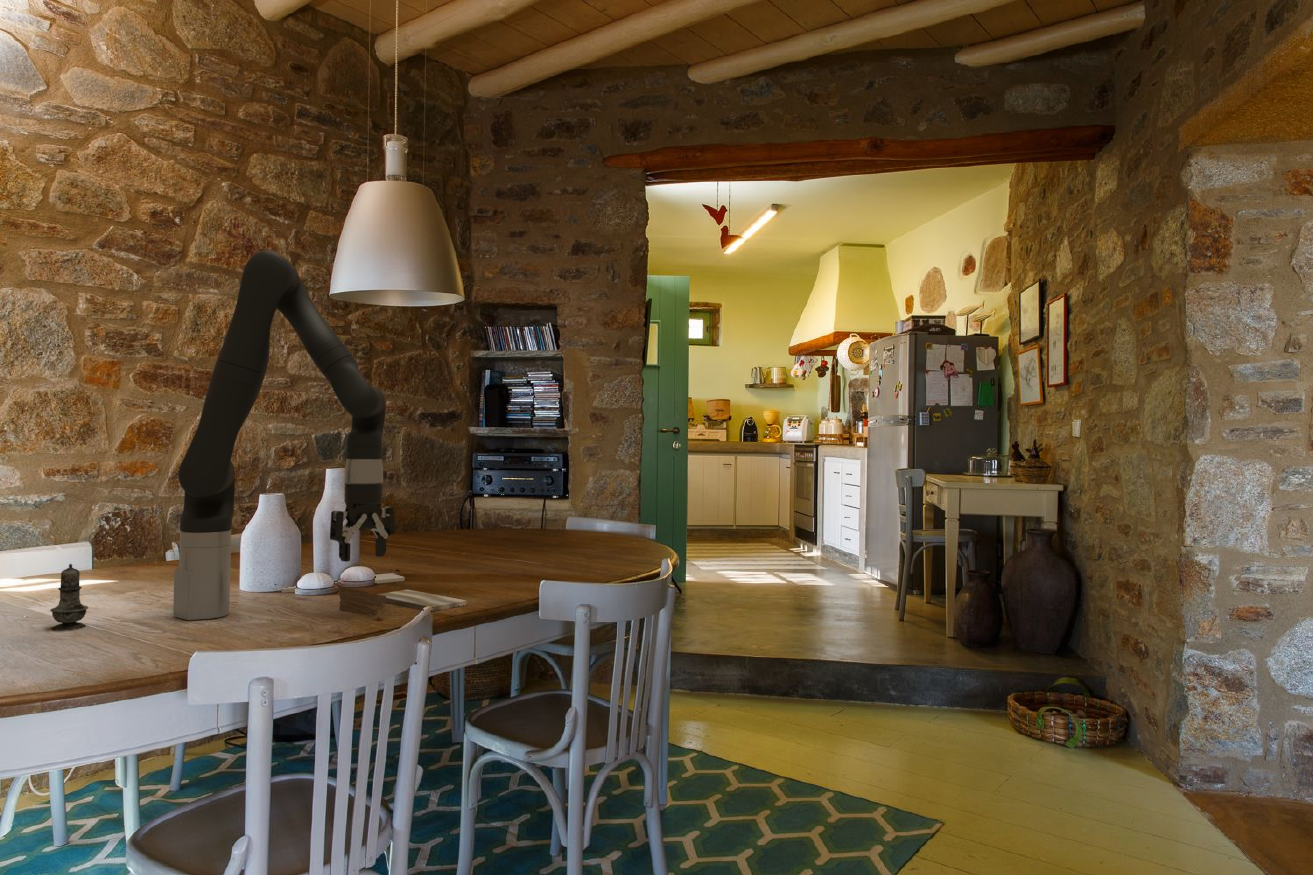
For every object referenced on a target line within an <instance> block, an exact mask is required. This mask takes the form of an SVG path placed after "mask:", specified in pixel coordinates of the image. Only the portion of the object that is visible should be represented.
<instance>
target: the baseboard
mask: <svg viewBox="0 0 1313 875" xmlns="http://www.w3.org/2000/svg"><path fill="white" fill-rule="evenodd" d="M392 571H394V572H397V573H399V574H400V573H401V574H402V575H404V576H402V575H399V574H396V573H394V572H392V573H391V571H388V573H381V574H380V573H379V574H374V575H375V576H376V578H375V583H377V584H383V583H385V584H386V583H395V582H405V579H406V578H405V575H406V573H402V572H400V571H401V570H400V569H395V570H393V569H392ZM335 583H337V582H335ZM295 589H296V586H294V587H288V588H281V590H280V591H281V592H280V591H279V592H280V593H293V592H295V593H296V591H295Z"/></svg>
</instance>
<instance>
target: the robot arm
mask: <svg viewBox="0 0 1313 875" xmlns="http://www.w3.org/2000/svg"><path fill="white" fill-rule="evenodd" d="M277 310H278V311H279V312H280V314H282V315H283V317H284V318H285V319H286V320H287V322H288V323H289V324H290V326H292V328H293V330H294V331H295V332H296V334H297V336H298V338H299V341H300V342H301V344H302V345H303V347H304V349H305V352H306V353H307V354H308V356H309V357H310V359H311V360H312V361H313V363H314V364H315V366H316V367H317V368H318V370H319V371H320V372H321V374H322V375H323V377H324V378H325V379H326V380H327V382H329V384H330V386H331V388H332V390H333V393H334V394H335V396H336V398H337V399H338V401H339V403H340V404H341V406H342V407H343V408H344V410H345V411H346V412H347V413H348V414H349V415H351V416H352V417H351V430H350V432H349V433H348V434H347V437H346V453H345V454H346V462H345V467H344V504H345V508H344V509H345V510H343V511H341V510H332V511H331V514H330V527H329V539H330V540H331V541H335V542H338V557H339V559H340V561H341V562H350V561H351V543H350V542H351V540H352V538H353V537H354V535H356V534H357V533H358V531H364V530H369V531H371V532H373V534H374V535H375V537H376V538H375V544H374V545H375V546H374V547H375V551H374V552H375V556H376V557H378V558H379V557H380V558H381V557H382V558H383V557H384V556H385V555H386V554H387V539H388V538H389V537H390V536H393V535H395V534H396V528H395V527H396V526H395V525H396V524H395V523H396V521H395V508H394V507H393V506H386V505H385V506H383V507H382V506H381V505H382V503H383V500H384V499H383V496H384V495H383V493H384V491H383V490H384V489H383V488H384V466H383V439H382V438H383V432H384V426H385V422H386V421H385V419H386V413H387V412H386V410H387V405H386V404H387V403H386V397H385V395H384V393H383V392H382V391H381V390H380V389H379V388H378V387H376V386H375V385H374V386H373V385H370V383H369V382H368V381H367V379H366V378H365V377H364V375H363V374H362V373H361V371H360V369H359V368H360V366H359V364H358V362H357V360H356V359H355V357H354V356H353V355H352V353H351V351H350V350H349V349H348V348H347V346H346V344H345V343H344V342H343V341H342V340H341V338H340V337H339V336H338V334H337V333H336V332H335V331H334V330H333V328H332V327H331V326H330V324H329V323H328V321H326V320H325V318H324V316H323V315H322V314H321V313H320V311H319V310H318V308H317V306H316V305H315V303H314V301H313V300H312V298H311V297H310V295H309V293H308V291H307V289H306V287H305V285H304V283H303V281H302V279H301V276H300V275H299V272H298V270H297V269H296V267H295V265H294V264H292V262H290V261H289V260H288V259H287V258H286V257H284V256H283V255H282V254H280V253H278V252H276V251H273V250H267V249H266V250H261V251H258V252H256V253H254V254H252V255H251V256H250V257H249V259H248V260H247V262H246V263H245V264H244V268H243V271H242V275H241V281H240V285H239V291H238V294H237V300H236V304H235V308H234V312H233V314H232V318H231V320H230V323H229V326H228V328H227V330H226V334H225V337H224V340H223V343H222V346H221V348H220V351H219V354H218V356H217V359H216V361H215V365H214V366H213V367H214V368H213V371H212V374H211V377H210V380H209V384H208V388H207V391H206V395H205V399H204V401H203V406H202V410H201V415H200V418H199V423H198V424H197V425H198V426H197V428H196V430H195V433H194V434H193V438H192V440H191V442H190V444H189V446H188V448H187V451H186V453H185V455H184V456H183V458H182V461H181V462H180V465H179V467H178V473H177V476H178V482H179V484H180V487H181V488H182V490H183V491H184V497H183V498H184V500H183V502H184V503H183V509H182V513H181V516H180V518H179V519H180V520H179V548H178V549H179V553H178V554H179V555H178V557H179V558H178V561H179V562H178V568H177V567H176V568H175V569H174V572H173V574H174V575H173V609H172V611H173V612H172V614H173V615H172V617H175V618H178V619H181V620H186V621H195V620H210V619H217V618H222V617H226V616H228V615H229V614H230V606H231V602H230V600H231V599H230V598H231V596H230V592H231V560H232V559H231V558H232V557H231V555H232V554H231V553H232V522H233V516H234V512H235V511H234V510H235V493H236V492H235V491H236V490H235V488H236V471H235V466H234V464H233V462H232V456H233V452H234V449H235V445H236V442H237V438H238V436H239V433H240V431H241V428H242V427H243V425H244V423H245V422H246V420H247V418H248V416H249V414H250V412H251V411H252V409H253V407H254V405H255V403H256V401H257V399H258V397H259V394H260V391H261V388H262V385H263V383H264V380H265V376H266V374H267V370H268V364H269V361H270V360H269V358H270V346H271V345H270V343H271V342H270V341H271V330H272V329H271V328H272V322H273V319H274V316H275V313H276V311H277ZM381 517H382V518H381ZM380 518H381V519H382V521H381V520H380ZM345 520H346V522H344V521H345Z"/></svg>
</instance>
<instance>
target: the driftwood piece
mask: <svg viewBox="0 0 1313 875" xmlns="http://www.w3.org/2000/svg"><path fill="white" fill-rule="evenodd" d="M337 588H338V590H339V600H340V601H339V610H341V611H345V612H349V613H353V614H359V615H362V616H364V617H367V618H370V619H371V620H374V621H377V622H378V621H379V617H380V616H381V615H382V614H383V612H384V610H385V606H386V604H387V603H386V596H384V595H378V594H379V593H375V592H371V591H367V590H361V589H355V588H349V587H337Z"/></svg>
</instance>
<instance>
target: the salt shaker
mask: <svg viewBox="0 0 1313 875" xmlns="http://www.w3.org/2000/svg"><path fill="white" fill-rule="evenodd" d="M73 566H74V565H73V564H72V563H69V565H68V568H65V569H63V570H62V571H61V572H60V587H58V588H57V590H58V591H59V602H58V605H57V606H55V607H53V608H51V609H50V610H49V611H50V612H51V613H52V614H51V615H52V617H53V619H54V621H55V622H57V623H58V624H56V625H54V626H53V627H51V630H52V629H53V630H52V631H57V632H58V631H61V632H64V631H65V630H68V631H74V630H73V629H76V630H79V629H78V628H81V629H83V628H82V627H84V628H86V627H87V624H84V623H83V622H79V621H81V620H82V619H83V618H84V617H85V615H86V614H87V610H88V609H89V606H87V605H84V604H82V603H81V599H80V596H81V595H80V592H81V589H82V588H83V587H82V586H80V575H81V573H80V570H78V569H77V568H74V567H73ZM85 626H86V627H85Z"/></svg>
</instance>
